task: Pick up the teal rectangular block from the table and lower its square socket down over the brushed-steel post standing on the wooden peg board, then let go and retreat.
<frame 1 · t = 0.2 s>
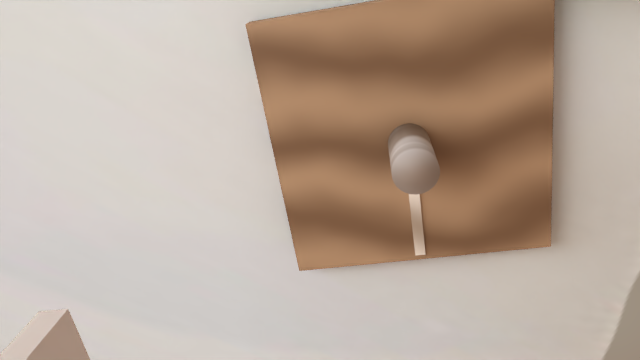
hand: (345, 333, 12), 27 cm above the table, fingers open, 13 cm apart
wooden peg board: (407, 136, 38), on the table
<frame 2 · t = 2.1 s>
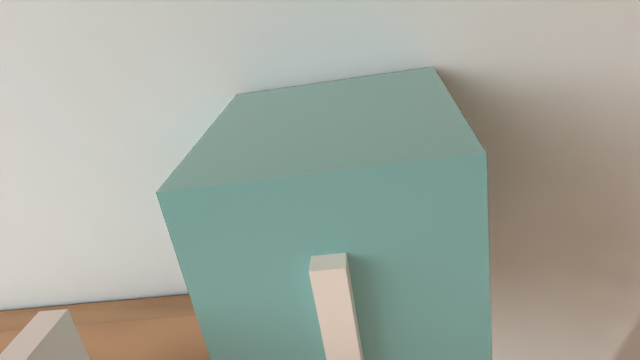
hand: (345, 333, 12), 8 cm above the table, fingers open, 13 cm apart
teal rectangular block: (346, 171, 19), on the table
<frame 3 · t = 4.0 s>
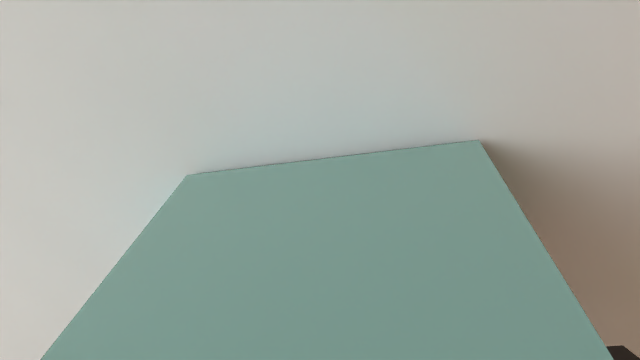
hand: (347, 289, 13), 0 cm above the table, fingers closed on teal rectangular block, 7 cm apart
teal rectangular block: (347, 280, 13), on the table, touching gripper
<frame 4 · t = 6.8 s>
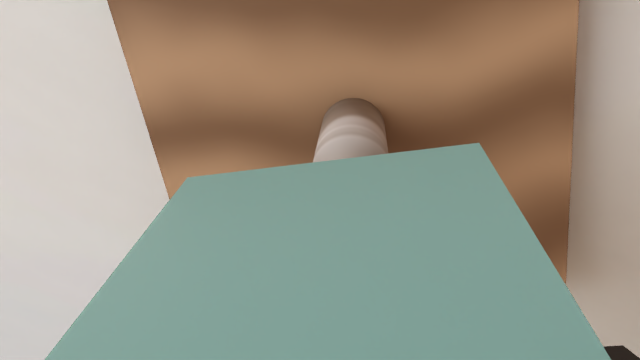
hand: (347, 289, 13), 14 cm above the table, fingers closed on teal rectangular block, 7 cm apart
wooden peg board: (353, 118, 25), on the table
teal rectangular block: (347, 282, 13), point 13 cm above the table, touching gripper
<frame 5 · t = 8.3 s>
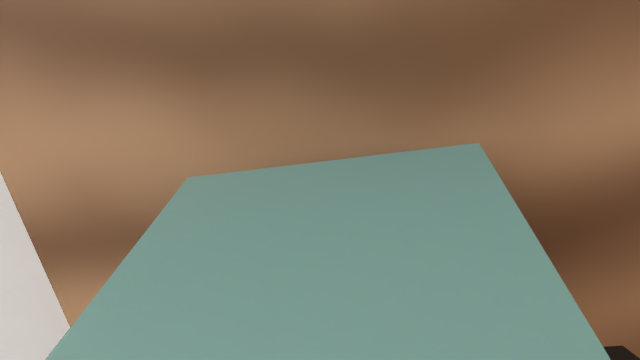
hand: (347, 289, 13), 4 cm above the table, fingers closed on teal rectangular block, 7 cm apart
wooden peg board: (350, 217, 16), on the table
teal rectangular block: (347, 282, 13), point 3 cm above the table, touching gripper
when the fingers open (2 cm above the table, at t = 9.7 s): teal rectangular block stays where it is, resting on wooden peg board.
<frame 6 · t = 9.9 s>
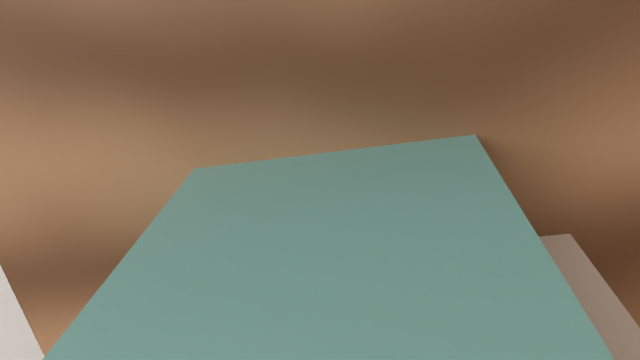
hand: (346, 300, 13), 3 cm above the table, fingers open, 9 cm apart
wooden peg board: (349, 244, 15), on the table
teal rectangular block: (348, 271, 14), point 1 cm above the table, touching wooden peg board
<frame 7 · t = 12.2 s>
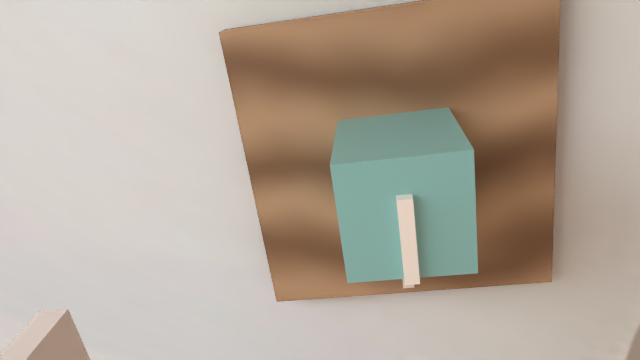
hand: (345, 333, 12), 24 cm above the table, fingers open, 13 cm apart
wooden peg board: (395, 158, 35), on the table
teal rectangular block: (397, 165, 33), point 1 cm above the table, touching wooden peg board
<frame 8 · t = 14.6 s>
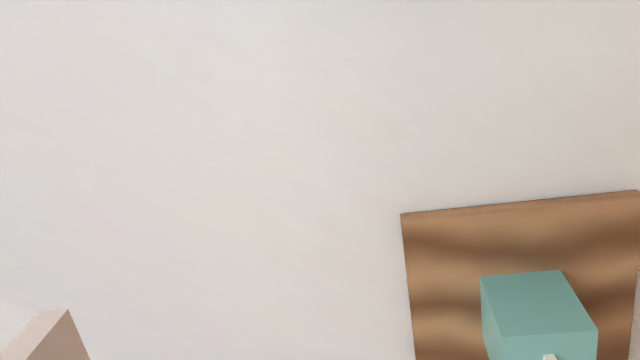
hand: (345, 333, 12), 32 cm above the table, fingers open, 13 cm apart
wooden peg board: (515, 295, 48), on the table
teal rectangular block: (519, 304, 47), point 1 cm above the table, touching wooden peg board
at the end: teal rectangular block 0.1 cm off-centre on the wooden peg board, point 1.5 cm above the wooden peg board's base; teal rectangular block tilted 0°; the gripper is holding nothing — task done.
